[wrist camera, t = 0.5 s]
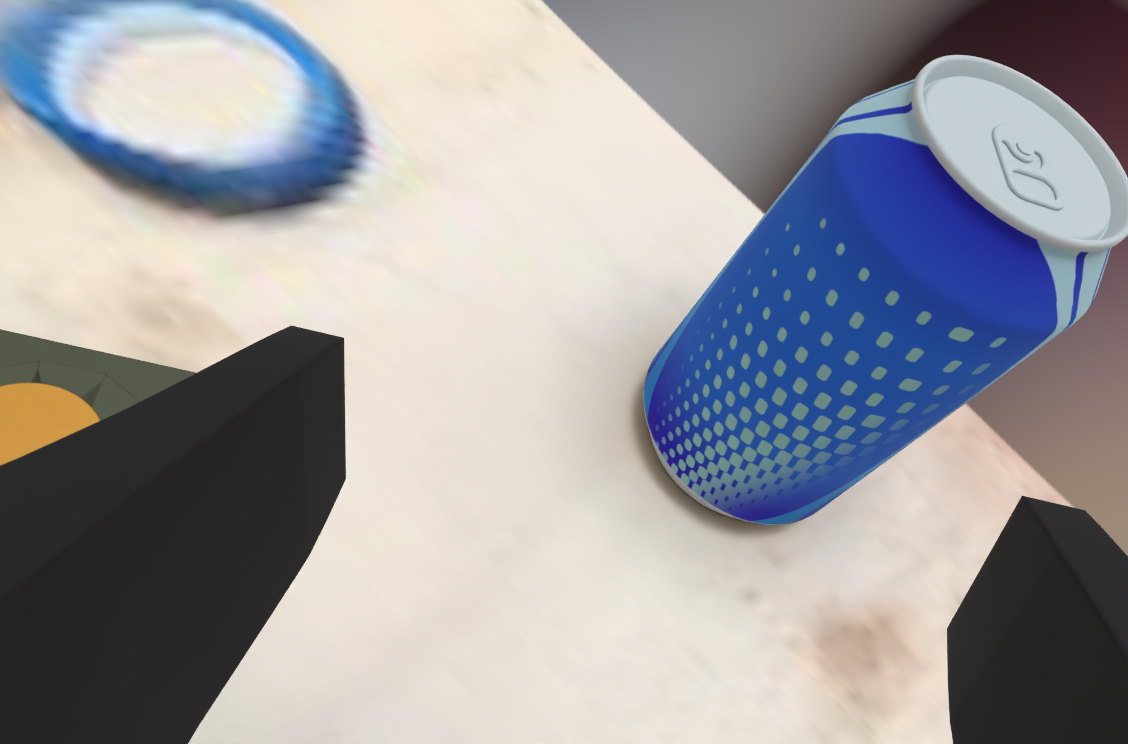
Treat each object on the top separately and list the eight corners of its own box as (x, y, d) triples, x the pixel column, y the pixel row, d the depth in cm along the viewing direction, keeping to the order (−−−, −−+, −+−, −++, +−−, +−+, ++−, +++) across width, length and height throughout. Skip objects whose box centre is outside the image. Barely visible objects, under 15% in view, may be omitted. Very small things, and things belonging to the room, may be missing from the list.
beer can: (586, 419, 34) (830, 89, 21) (706, 314, 39) (961, -2, 27) (754, 584, 33) (1118, 335, 20) (856, 454, 38) (1197, 190, 25)
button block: (136, 721, 24) (133, 692, 22) (-219, 675, 22) (-264, 638, 20) (233, 399, 30) (239, 349, 27) (-41, 340, 28) (-60, 280, 25)
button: (81, 554, 23) (75, 526, 22) (-78, 527, 22) (-95, 496, 21) (127, 431, 25) (124, 399, 24) (-18, 402, 24) (-29, 367, 23)
